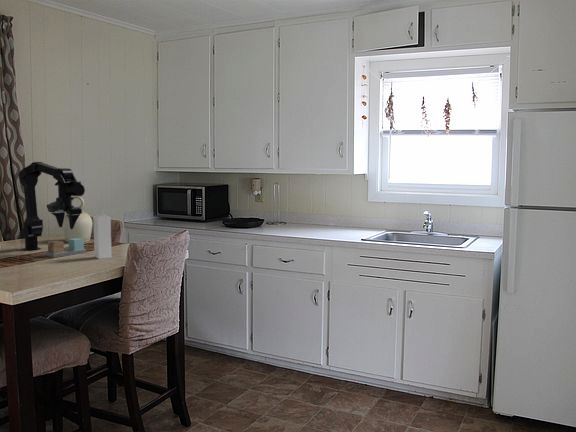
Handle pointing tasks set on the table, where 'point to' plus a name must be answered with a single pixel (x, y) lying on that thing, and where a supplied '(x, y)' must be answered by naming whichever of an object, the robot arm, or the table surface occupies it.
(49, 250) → the walnut block
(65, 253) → the baseplate
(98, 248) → the milk
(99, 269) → the table surface
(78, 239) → the teal block
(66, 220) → the jug
